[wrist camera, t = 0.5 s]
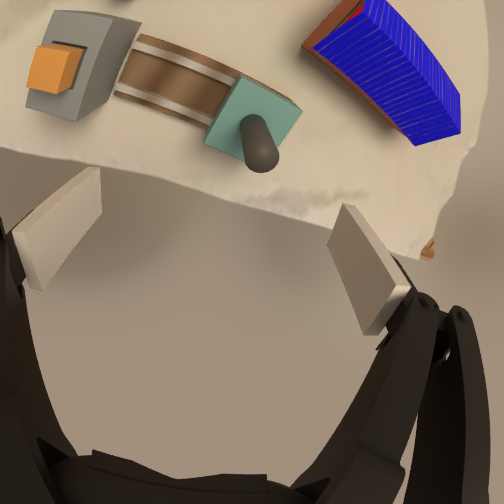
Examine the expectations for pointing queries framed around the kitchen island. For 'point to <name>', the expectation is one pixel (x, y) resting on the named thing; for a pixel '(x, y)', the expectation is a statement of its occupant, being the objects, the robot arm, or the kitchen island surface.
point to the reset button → (54, 67)
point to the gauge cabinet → (85, 60)
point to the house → (389, 68)
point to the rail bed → (176, 80)
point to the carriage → (252, 124)
